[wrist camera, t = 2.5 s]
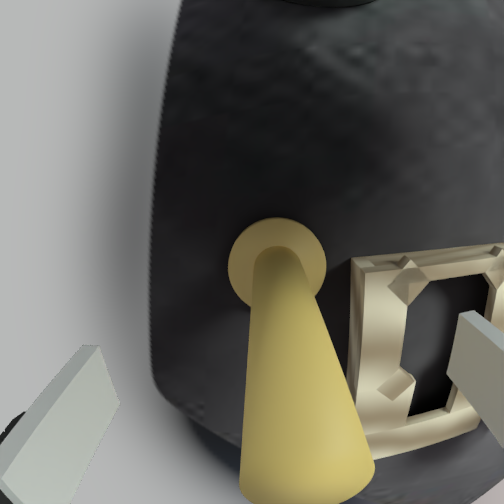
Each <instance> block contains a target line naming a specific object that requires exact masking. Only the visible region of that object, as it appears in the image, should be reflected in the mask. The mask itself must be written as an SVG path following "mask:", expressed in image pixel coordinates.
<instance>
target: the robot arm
mask: <svg viewBox="0 0 504 504" xmlns="http://www.w3.org/2000/svg"><path fill="white" fill-rule="evenodd" d="M284 1H289V2H293V3H298V4H304V5H310V6H321V7H346V6H355V5H360V4H365V3H369V2H372V1H374V0H284ZM446 374H447V375H448V376H449V378H450V379H451V380H452V381H453V383H454V384H455V385H456V386H457V388H458V389H459V390H460V391H461V393H462V394H463V395H464V397H465V398H466V399H467V400H468V402H469V403H470V404H471V406H472V407H473V408H474V410H475V411H476V412H477V414H478V415H479V416H480V418H481V419H482V420H483V422H484V423H485V424H486V426H487V427H488V428H489V430H490V431H491V432H492V434H493V435H494V437H495V438H496V439H497V441H498V442H499V443H500V445H501V446H502V448H503V449H504V333H503V332H501V331H500V330H499V329H498V328H496V327H495V326H494V325H493V324H491V323H490V322H489V321H487V320H486V319H485V318H484V317H482V316H481V315H480V314H478V313H477V312H476V311H474V310H472V311H468V312H463V313H459V317H458V322H457V328H456V333H455V338H454V343H453V348H452V352H451V357H450V361H449V365H448V369H447V373H446ZM119 406H120V401H119V399H118V396H117V394H116V391H115V388H114V386H113V383H112V380H111V378H110V375H109V372H108V369H107V367H106V364H105V361H104V358H103V355H102V352H101V349H100V346H91V345H90V346H89V345H82V347H81V348H80V349H79V350H78V351H77V352H76V353H75V354H74V356H73V357H72V358H71V359H70V360H69V361H68V363H67V364H66V365H65V366H64V367H63V368H62V370H61V371H60V372H59V373H58V374H57V375H56V376H55V378H54V379H53V380H52V381H51V382H50V384H49V385H48V386H47V387H46V388H45V389H44V391H43V392H42V393H41V394H40V395H39V397H38V398H37V399H36V400H35V402H34V403H33V404H32V406H31V407H30V408H29V409H28V411H26V412H23V413H21V414H20V415H18V416H17V417H16V418H14V419H13V420H12V421H11V422H10V424H9V425H8V426H7V427H6V429H5V432H2V434H1V435H0V504H71V501H72V499H73V497H74V495H75V493H76V491H77V489H78V487H79V485H80V483H81V481H82V478H83V476H84V474H85V472H86V470H87V468H88V466H89V464H90V462H91V460H92V458H93V456H94V454H95V452H96V450H97V448H98V446H99V444H100V442H101V440H102V438H103V436H104V434H105V432H106V430H107V429H108V427H109V425H110V423H111V421H112V419H113V417H114V415H115V413H116V411H117V409H118V407H119Z"/></svg>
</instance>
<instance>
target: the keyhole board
mask: <svg viewBox="0 0 504 504" xmlns="http://www.w3.org/2000/svg"><path fill="white" fill-rule="evenodd" d="M479 273H482V275H483V276H484V278H485V279H486V281H487V282H488V284H489V291H488V297H487V303H486V308H485V314H484V318H485V319H486V320H487V321H489V322H490V323H491V324H493V325H494V326H495V327H496V328H498V329H499V330H500V331H501V332H503V333H504V243H493V244H484V245H475V246H465V247H456V248H446V249H436V250H426V251H416V252H406V253H396V254H386V255H375V256H364V257H354V258H351V296H350V328H349V348H348V364H347V377H346V382H347V385H348V388H349V391H350V394H351V396H352V399H353V402H354V405H355V408H356V411H357V414H358V416H359V419H360V422H361V425H362V428H363V431H364V434H365V437H366V440H367V443H368V446H369V449H370V452H371V455H372V458H373V460H375V459H379V458H384V457H388V456H392V455H396V454H400V453H404V452H407V451H411V450H415V449H418V448H422V447H425V446H428V445H431V444H435V443H438V442H441V441H444V440H447V439H450V438H452V437H455V436H458V435H461V434H463V433H466V432H469V431H471V430H474V429H476V428H477V426H478V424H479V422H480V420H481V418H480V416H479V415H478V414H477V412H476V411H475V410H474V408H473V407H472V406H471V404H470V403H469V402H468V400H467V399H466V398H465V397H464V395H463V394H462V393H461V391H460V390H459V389H458V388H457V386H456V385H455V384H454V383H453V385H452V388H451V391H450V395H449V398H448V401H447V404H446V407H443V408H439V409H436V410H432V411H429V412H425V413H422V414H418V415H414V416H410V417H407V416H408V412H409V408H410V404H411V401H412V397H413V392H414V388H415V384H416V380H415V379H414V377H413V376H412V374H409V373H408V372H406V371H405V370H404V369H403V368H401V367H400V366H399V365H400V359H401V353H402V346H403V339H404V331H405V323H406V314H407V306H408V305H409V304H410V303H411V302H412V301H413V300H414V299H415V298H416V296H417V295H418V294H419V293H420V292H421V291H422V290H423V289H424V287H425V286H426V285H427V284H428V283H429V282H430V281H432V280H439V279H446V278H453V277H459V276H466V275H472V274H479Z"/></svg>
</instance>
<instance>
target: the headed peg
mask: <svg viewBox="0 0 504 504" xmlns="http://www.w3.org/2000/svg"><path fill="white" fill-rule="evenodd" d="M228 274H229V279H230V282H231V285H232V287H233V289H234V291H235V292H236V294H237V295H238V296H239V297H240V298H241V300H243V301H244V302H245V303H246V304H247V305H249V306H250V307H251V315H250V330H249V346H248V361H247V376H246V391H245V406H244V421H243V436H242V451H241V466H240V481H239V486H240V490H241V492H242V494H243V495H244V496H245V497H246V498H247V499H248V500H249V501H250V502H252V503H254V504H339V503H341V502H343V501H345V500H347V499H349V498H351V497H353V496H354V495H356V494H357V493H359V492H360V491H361V490H362V489H363V488H364V487H366V485H367V484H368V483H369V482H370V480H371V479H372V477H373V474H374V471H375V464H374V461H373V458H372V455H371V452H370V449H369V446H368V443H367V440H366V437H365V434H364V431H363V428H362V425H361V422H360V419H359V416H358V414H357V411H356V408H355V405H354V402H353V399H352V396H351V394H350V391H349V388H348V385H347V382H346V379H345V377H344V374H343V371H342V368H341V366H340V363H339V360H338V357H337V355H336V352H335V349H334V347H333V344H332V341H331V339H330V336H329V333H328V331H327V328H326V325H325V323H324V320H323V318H322V315H321V312H320V310H319V307H318V305H317V302H316V300H315V297H314V296H315V295H316V294H317V293H318V291H319V290H320V288H321V286H322V284H323V281H324V278H325V274H326V258H325V254H324V251H323V248H322V246H321V244H320V242H319V241H318V239H317V238H316V237H315V235H314V234H313V233H312V232H311V231H310V230H309V229H308V228H307V227H305V226H304V225H303V224H301V223H299V222H297V221H294V220H292V219H288V218H282V217H272V218H266V219H263V220H260V221H257V222H255V223H253V224H252V225H250V226H249V227H247V228H246V229H245V230H244V231H243V232H242V233H241V234H240V235H239V236H238V238H237V239H236V241H235V243H234V245H233V247H232V250H231V253H230V256H229V261H228Z"/></svg>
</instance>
